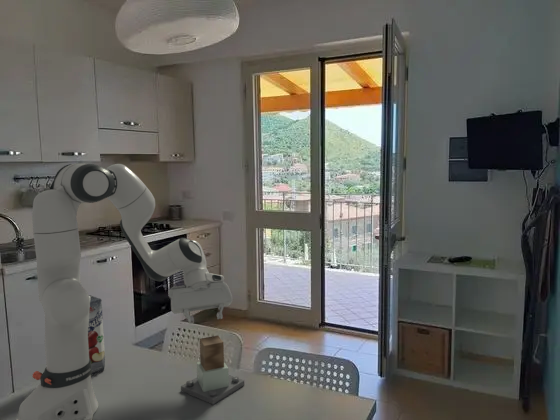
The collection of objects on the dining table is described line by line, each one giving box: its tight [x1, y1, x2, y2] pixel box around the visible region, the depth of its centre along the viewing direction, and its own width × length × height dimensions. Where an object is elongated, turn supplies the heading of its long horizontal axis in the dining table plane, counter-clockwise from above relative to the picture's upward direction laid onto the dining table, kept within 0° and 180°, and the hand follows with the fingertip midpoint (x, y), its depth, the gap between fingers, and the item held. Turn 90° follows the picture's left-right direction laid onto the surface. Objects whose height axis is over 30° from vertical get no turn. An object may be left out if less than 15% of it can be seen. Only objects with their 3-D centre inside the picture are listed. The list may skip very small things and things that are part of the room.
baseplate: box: [180, 361, 245, 405], centre depth 139 cm, size 14×14×8 cm
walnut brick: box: [199, 335, 225, 371], centre depth 138 cm, size 6×6×8 cm
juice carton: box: [88, 294, 106, 376], centre depth 149 cm, size 9×10×27 cm
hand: (206, 320), depth 142 cm, fingers open, 8 cm apart
